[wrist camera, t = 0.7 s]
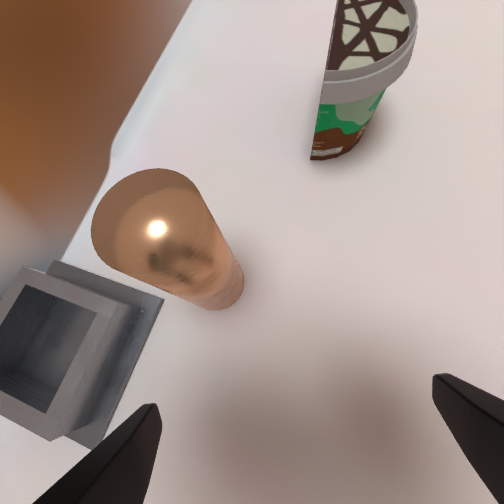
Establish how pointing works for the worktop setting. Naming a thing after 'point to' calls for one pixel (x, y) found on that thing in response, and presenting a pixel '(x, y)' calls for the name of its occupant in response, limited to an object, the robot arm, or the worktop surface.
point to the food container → (361, 68)
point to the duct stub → (69, 350)
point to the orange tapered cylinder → (166, 238)
